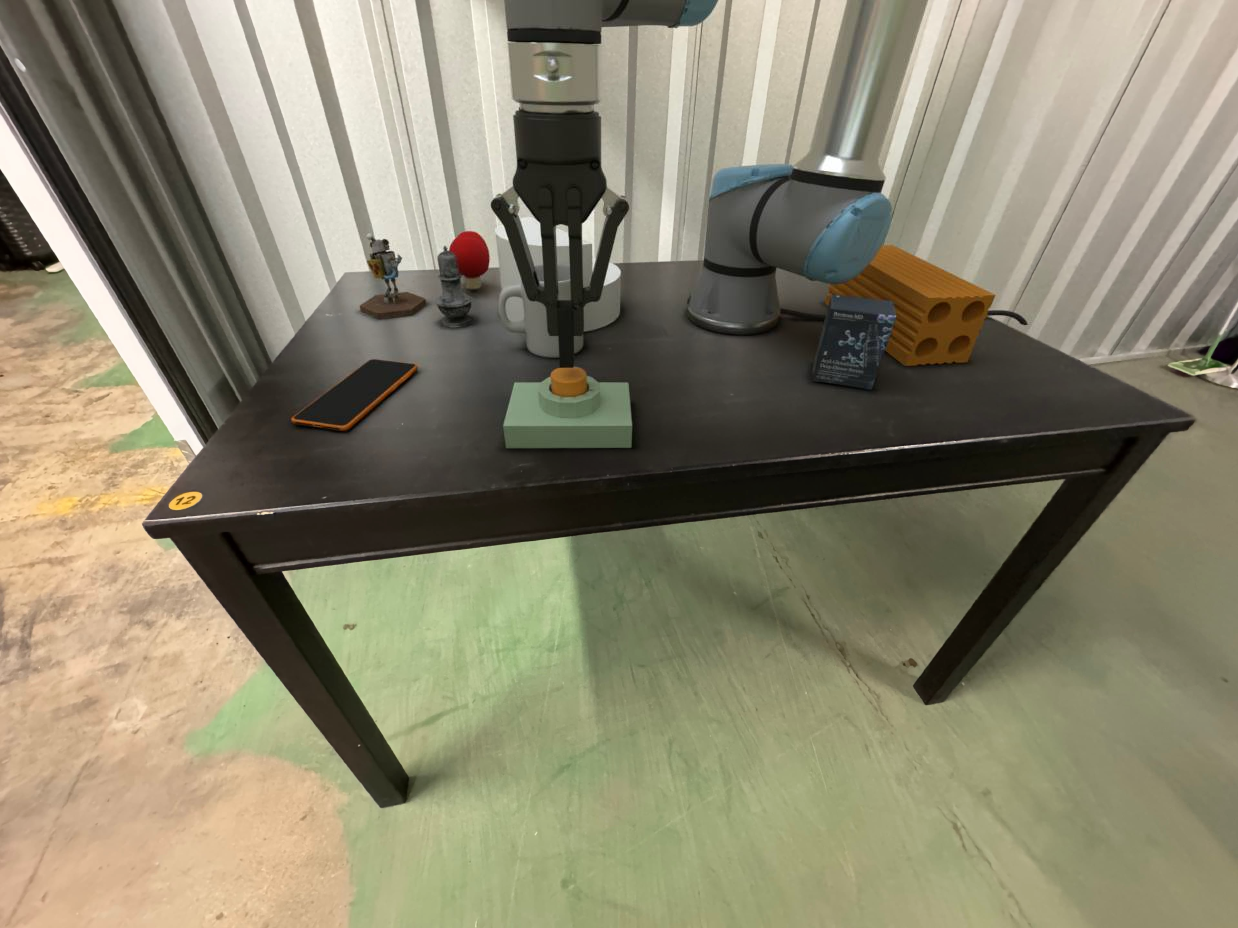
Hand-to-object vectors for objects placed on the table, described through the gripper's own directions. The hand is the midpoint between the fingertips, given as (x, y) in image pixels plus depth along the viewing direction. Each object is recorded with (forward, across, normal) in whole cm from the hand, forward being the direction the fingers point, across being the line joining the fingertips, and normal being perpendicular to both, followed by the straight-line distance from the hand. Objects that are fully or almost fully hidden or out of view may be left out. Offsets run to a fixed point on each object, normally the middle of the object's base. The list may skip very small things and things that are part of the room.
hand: (567, 362), depth 61 cm
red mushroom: (+8, -20, +47) cm, 52 cm away
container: (+8, -3, +37) cm, 38 cm away
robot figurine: (+8, -32, +38) cm, 50 cm away
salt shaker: (+8, -20, +32) cm, 39 cm away
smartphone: (+8, -27, +7) cm, 29 cm away
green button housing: (+8, 0, 0) cm, 8 cm away
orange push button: (+4, 0, 0) cm, 4 cm away
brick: (+8, +51, +29) cm, 59 cm away
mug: (+8, -5, +22) cm, 24 cm away
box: (+8, +37, +12) cm, 40 cm away
